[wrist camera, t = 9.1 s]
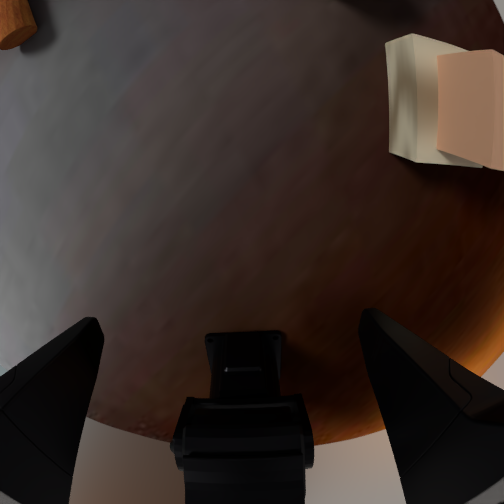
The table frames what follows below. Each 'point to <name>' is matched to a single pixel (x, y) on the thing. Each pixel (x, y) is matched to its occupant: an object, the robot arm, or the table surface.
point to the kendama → (15, 23)
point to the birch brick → (417, 99)
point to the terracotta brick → (472, 106)
